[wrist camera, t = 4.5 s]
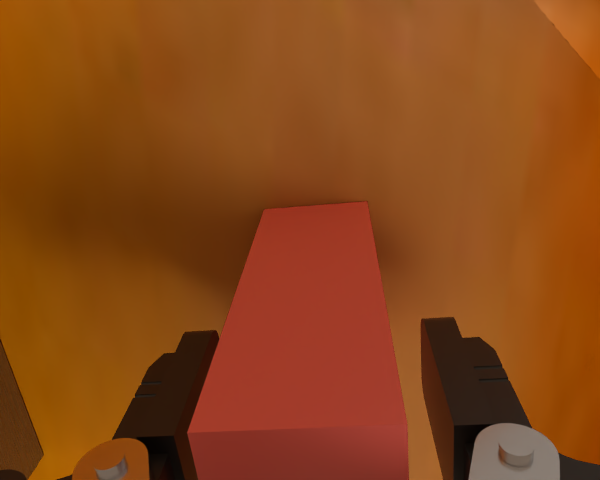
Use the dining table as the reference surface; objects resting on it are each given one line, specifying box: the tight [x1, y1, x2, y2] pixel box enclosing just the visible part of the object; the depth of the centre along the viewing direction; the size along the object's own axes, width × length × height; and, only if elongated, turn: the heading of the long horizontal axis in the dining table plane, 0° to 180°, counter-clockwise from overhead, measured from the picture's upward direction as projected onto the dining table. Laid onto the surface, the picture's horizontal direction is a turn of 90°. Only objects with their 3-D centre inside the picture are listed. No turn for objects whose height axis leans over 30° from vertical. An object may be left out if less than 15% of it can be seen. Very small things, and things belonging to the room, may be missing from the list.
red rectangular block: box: [187, 201, 409, 480], centre depth 12 cm, size 3×5×9 cm, turn 6°
